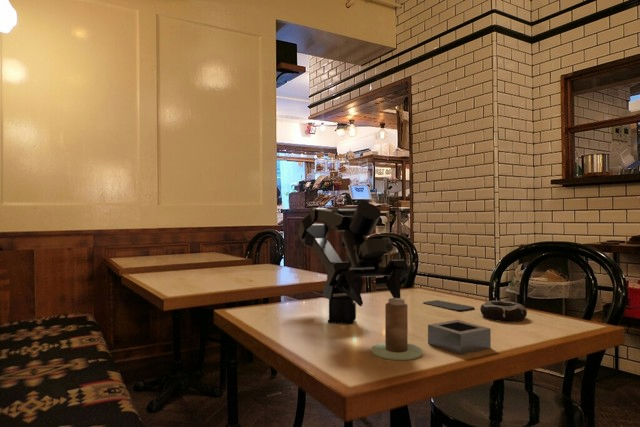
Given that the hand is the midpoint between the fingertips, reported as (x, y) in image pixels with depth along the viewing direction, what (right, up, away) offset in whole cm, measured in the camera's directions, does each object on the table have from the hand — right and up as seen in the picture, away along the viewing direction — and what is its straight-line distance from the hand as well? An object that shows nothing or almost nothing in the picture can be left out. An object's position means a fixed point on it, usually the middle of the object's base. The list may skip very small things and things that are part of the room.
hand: (380, 303), depth 94 cm
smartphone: (+26, -10, +39) cm, 48 cm away
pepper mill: (+2, -8, -6) cm, 10 cm away
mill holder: (+16, -9, -2) cm, 19 cm away
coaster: (+2, -8, -6) cm, 11 cm away
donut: (+37, -9, +24) cm, 45 cm away
